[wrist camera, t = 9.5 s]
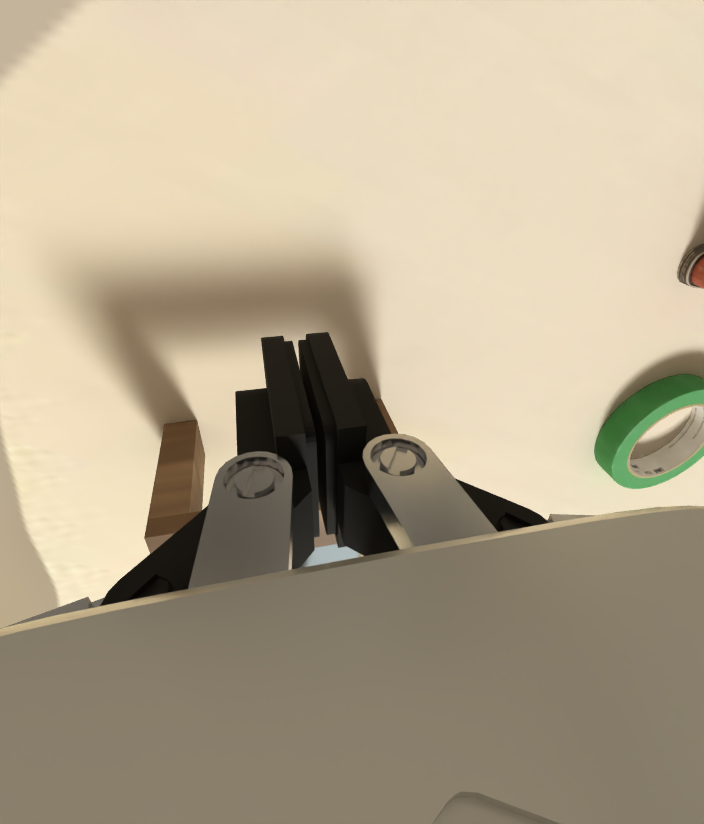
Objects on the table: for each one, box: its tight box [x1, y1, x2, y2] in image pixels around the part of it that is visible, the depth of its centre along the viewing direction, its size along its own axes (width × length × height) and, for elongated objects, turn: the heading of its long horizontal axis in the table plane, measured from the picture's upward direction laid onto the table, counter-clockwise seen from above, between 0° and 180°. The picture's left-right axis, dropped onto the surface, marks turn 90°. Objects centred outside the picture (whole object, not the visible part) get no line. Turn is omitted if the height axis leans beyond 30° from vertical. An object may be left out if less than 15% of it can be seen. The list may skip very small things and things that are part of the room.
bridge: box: [145, 399, 398, 554], centre depth 27 cm, size 3×14×9 cm, turn 88°
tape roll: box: [594, 374, 704, 489], centre depth 40 cm, size 11×11×3 cm
